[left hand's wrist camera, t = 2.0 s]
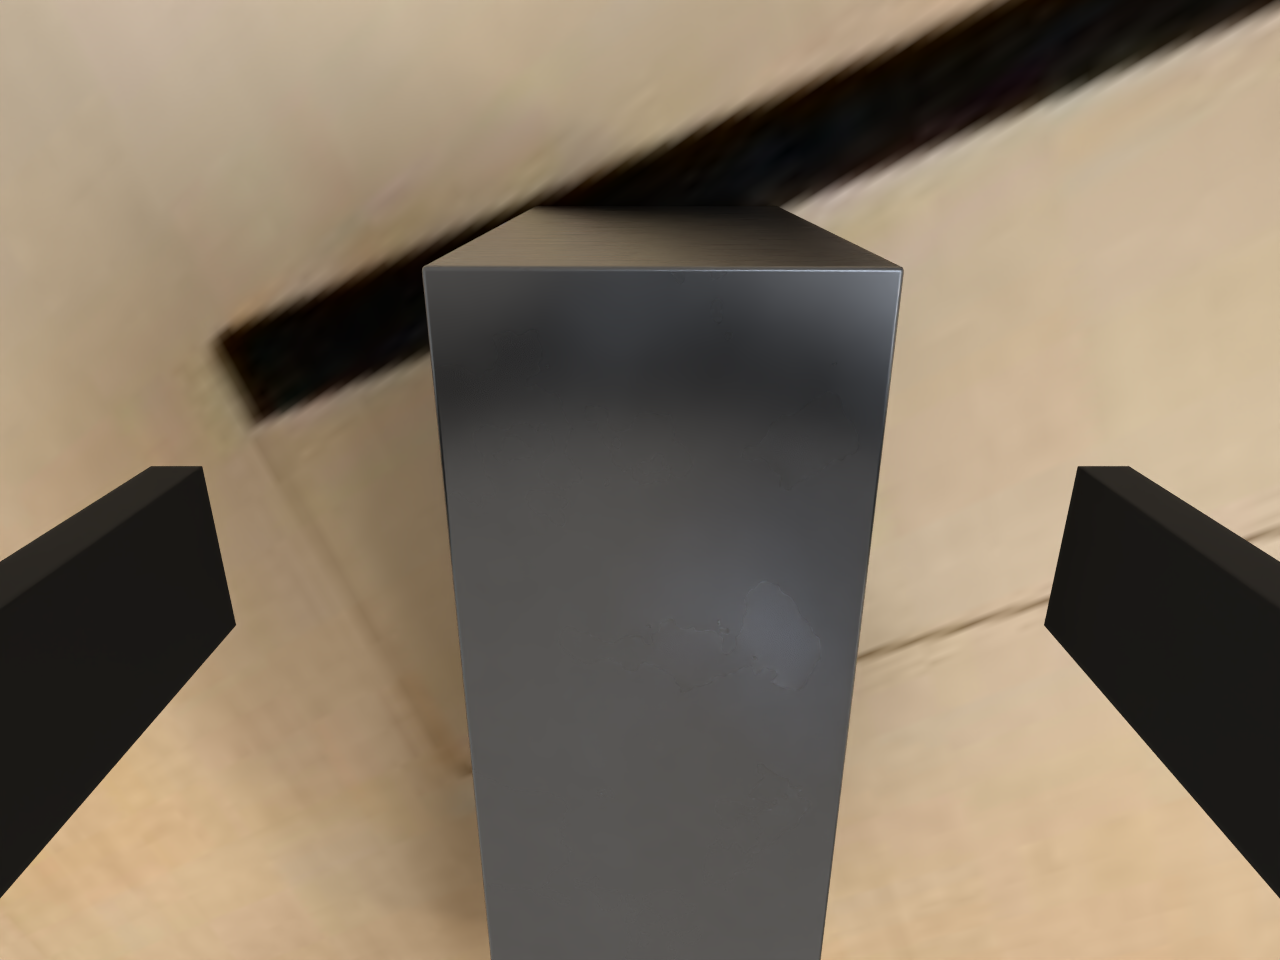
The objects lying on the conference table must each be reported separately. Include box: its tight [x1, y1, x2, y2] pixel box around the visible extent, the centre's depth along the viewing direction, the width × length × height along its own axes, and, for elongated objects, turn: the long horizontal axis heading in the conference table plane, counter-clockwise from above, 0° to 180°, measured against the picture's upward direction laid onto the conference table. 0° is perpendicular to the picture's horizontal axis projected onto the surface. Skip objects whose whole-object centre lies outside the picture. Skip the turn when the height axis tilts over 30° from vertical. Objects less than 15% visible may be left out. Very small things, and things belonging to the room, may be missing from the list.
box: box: [422, 206, 904, 960], centre depth 20 cm, size 25×6×11 cm, turn 0°
